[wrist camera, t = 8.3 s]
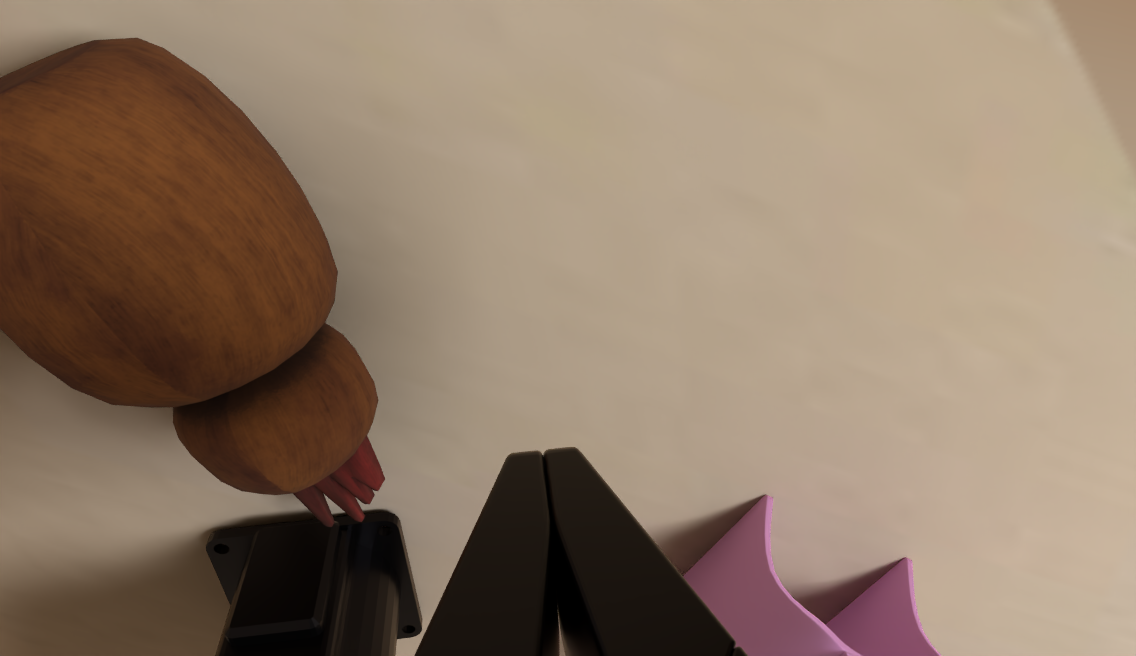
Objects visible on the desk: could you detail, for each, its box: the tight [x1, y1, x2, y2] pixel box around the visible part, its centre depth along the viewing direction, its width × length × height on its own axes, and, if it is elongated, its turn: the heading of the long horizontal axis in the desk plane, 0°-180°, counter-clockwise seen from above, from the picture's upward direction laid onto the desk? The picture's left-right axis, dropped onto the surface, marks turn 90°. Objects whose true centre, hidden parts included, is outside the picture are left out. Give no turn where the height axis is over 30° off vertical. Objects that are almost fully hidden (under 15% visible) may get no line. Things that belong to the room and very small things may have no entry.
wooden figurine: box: [0, 38, 385, 527], centre depth 19 cm, size 7×6×15 cm
